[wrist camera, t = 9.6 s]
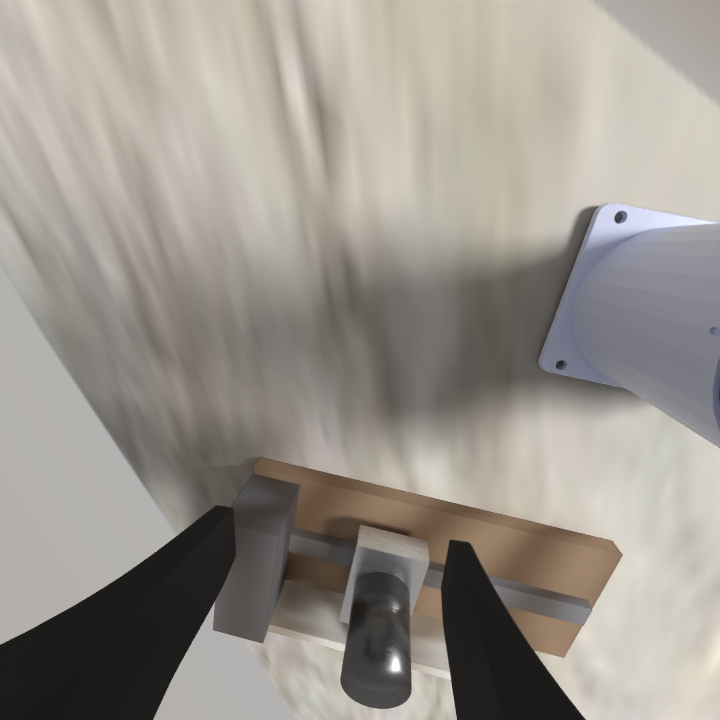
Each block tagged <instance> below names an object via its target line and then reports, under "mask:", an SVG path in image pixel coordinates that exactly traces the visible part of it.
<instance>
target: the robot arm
mask: <svg viewBox="0 0 720 720" xmlns="http://www.w3.org/2000/svg"><path fill="white" fill-rule="evenodd" d="M617 212H620V213H621V214H622V219H621V221H620V222H619V223H616V222H615V220H614V216H615V215H616V213H617ZM560 360H563V361H564V362H563V365H562V366H561V367H559V368H556V363H557V362H558V361H560ZM538 363H539V366H540V367H541V368H542V369H543V370H544V371H546V372H550V373H555V374H560V375H564V376H569V377H574V378H578V379H583V380H588V381H592V382H597V383H602V384H606V385H611V386H616V387H620V388H625V389H628V390H629V391H631V392H633V393H634V394H636V395H637V396H639V397H640V398H642V399H644V400H645V401H647V402H648V403H650V404H651V405H653V406H655V407H656V408H658V409H659V410H661V411H662V412H664V413H666V414H667V415H669V416H670V417H672V418H673V419H675V420H677V421H678V422H680V423H681V424H683V425H684V426H686V427H687V428H689V429H691V430H692V431H694V432H695V433H697V434H698V435H700V436H702V437H703V438H705V439H706V440H708V441H709V442H711V443H713V444H714V445H716V446H717V447H719V448H720V223H719V222H714V221H708V220H703V219H698V218H692V217H687V216H681V215H676V214H671V213H665V212H660V211H654V210H649V209H644V208H638V207H633V206H628V205H622V204H617V203H606V204H603V205H601V206H599V207H598V208H597V209H596V210H595V212H594V214H593V216H592V219H591V222H590V224H589V227H588V229H587V232H586V235H585V237H584V240H583V243H582V245H581V248H580V251H579V253H578V256H577V259H576V261H575V264H574V267H573V269H572V272H571V275H570V277H569V280H568V283H567V285H566V288H565V291H564V293H563V296H562V299H561V301H560V304H559V307H558V309H557V312H556V315H555V317H554V320H553V322H552V325H551V328H550V330H549V333H548V336H547V338H546V341H545V344H544V346H543V349H542V352H541V354H540V357H539V361H538ZM235 557H236V542H235V525H234V508H231V507H224V506H217V505H216V506H215V507H214V508H212V509H211V510H210V511H208V512H207V513H206V514H204V515H203V516H202V517H201V518H199V519H198V520H197V521H196V522H194V523H193V524H192V525H190V526H189V527H188V528H187V529H185V530H184V531H183V532H182V533H180V534H179V535H178V536H176V537H175V538H174V539H173V540H171V541H170V542H168V543H167V544H166V545H165V546H163V547H162V548H160V549H159V550H158V551H157V552H155V553H154V554H152V555H151V556H150V557H148V558H147V559H145V560H144V561H143V562H141V563H140V564H139V565H137V566H136V567H134V568H133V569H132V570H130V571H128V572H127V573H126V574H124V575H123V576H121V577H120V578H118V579H117V580H115V581H114V582H112V583H110V584H109V585H107V586H106V587H104V588H103V589H101V590H99V591H98V592H96V593H95V594H93V595H91V596H90V597H88V598H86V599H85V600H83V601H81V602H80V603H78V604H76V605H75V606H73V607H71V608H69V609H67V610H66V611H64V612H62V613H60V614H58V615H56V616H55V617H53V618H51V619H49V620H47V621H45V622H44V623H42V624H40V625H38V626H37V627H35V628H33V629H31V630H29V631H27V632H25V633H23V634H21V635H19V636H17V637H15V638H13V639H11V640H9V641H7V642H5V643H3V644H1V645H0V720H153V718H154V716H155V714H156V712H157V710H158V707H159V705H160V703H161V701H162V699H163V697H164V695H165V692H166V690H167V688H168V686H169V684H170V682H171V680H172V678H173V676H174V674H175V672H176V670H177V668H178V666H179V664H180V663H181V661H182V659H183V657H184V656H185V654H186V652H187V650H188V648H189V646H190V645H191V643H192V641H193V639H194V638H195V636H196V634H197V632H198V630H199V629H200V627H201V625H202V623H203V622H204V620H205V618H206V616H207V615H208V613H209V611H210V609H211V607H212V606H213V604H214V602H215V600H216V598H217V597H218V595H219V593H220V591H221V589H222V587H223V585H224V583H225V581H226V578H227V576H228V574H229V571H230V569H231V566H232V564H233V562H234V559H235ZM441 601H442V619H443V629H444V636H445V643H446V649H447V656H448V663H449V669H450V676H451V682H452V689H453V695H454V702H455V708H456V715H457V720H586V719H585V718H584V717H583V716H582V715H581V713H580V712H579V711H578V710H577V708H576V707H575V706H574V704H573V703H572V702H571V701H570V699H569V698H568V697H567V695H566V694H565V693H564V692H563V690H562V689H561V688H560V686H559V685H558V684H557V682H556V681H555V680H554V678H553V677H552V675H551V674H550V673H549V671H548V670H547V669H546V667H545V666H544V664H543V663H542V662H541V660H540V659H539V657H538V656H537V655H536V653H535V652H534V650H533V649H532V647H531V646H530V644H529V643H528V641H527V640H526V638H525V637H524V635H523V634H522V632H521V631H520V629H519V628H518V626H517V624H516V623H515V621H514V620H513V618H512V616H511V615H510V613H509V612H508V610H507V608H506V607H505V605H504V603H503V602H502V600H501V598H500V597H499V595H498V593H497V591H496V590H495V588H494V586H493V584H492V583H491V581H490V579H489V577H488V575H487V574H486V572H485V570H484V568H483V566H482V564H481V562H480V560H479V558H478V556H477V554H476V552H475V550H474V548H473V546H472V545H471V544H470V542H465V541H458V540H451V539H450V541H449V546H448V551H447V557H446V562H445V567H444V573H443V578H442V584H441Z"/></svg>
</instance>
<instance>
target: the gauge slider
mask: <svg viewBox="0 0 720 720" xmlns="http://www.w3.org/2000/svg"><path fill="white" fill-rule="evenodd" d="M428 566H429V552H428V541H425V540H421V539H417V538H413V537H409V536H405V535H401V534H397V533H392V532H388V531H384V530H380V529H376V528H372V527H368V526H364V525H360V527H359V532H358V536H357V540H356V544H355V548H354V553H353V557H352V561H351V565H350V569H349V574H348V578H347V582H346V586H345V590H344V595H343V599H342V605H341V611H340V616H339V621H341V622H345V623H348V624H349V625H348V632H347V638H346V645H345V652H344V659H343V665H342V672H341V685H342V688H343V690H344V691H345V693H346V694H347V695H348V696H349V697H350V698H352V699H353V700H354V701H356V702H358V703H360V704H362V705H365V706H368V707H372V708H378V709H388V708H393V707H397V706H399V705H401V704H403V703H404V702H406V701H407V700H408V698H409V697H410V695H411V629H410V619H411V616H412V613H413V610H414V607H415V605H416V602H417V599H418V596H419V593H420V590H421V587H422V584H423V581H424V578H425V575H426V572H427V569H428Z"/></svg>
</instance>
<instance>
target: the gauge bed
mask: <svg viewBox="0 0 720 720" xmlns="http://www.w3.org/2000/svg"><path fill="white" fill-rule="evenodd" d="M231 508H234V525H235V542H236V557H235V559H234V562H233V564H232V566H231V569H230V571H229V574H228V576H227V578H226V581H225V583H224V585H223V587H222V589H221V591H220V593H219V595H218V597H217V598H216V600H215V609H214V623H213V630H215V631H218V632H222V633H226V634H230V635H233V636H237V637H241V638H245V639H248V640H252V641H256V642H259V643H263V642H264V639H265V636H266V633H267V631H268V628H269V632H273V633H277V634H281V635H285V636H288V637H292V638H296V639H300V640H303V641H307V642H311V643H315V644H318V645H322V646H326V647H330V648H333V649H337V650H341V651H345V645H346V638H347V632H348V625H349V624H348V623H345V622H341V621H339V616H340V611H341V605H342V599H343V595H344V590H345V586H346V582H347V578H348V574H349V569H350V565H351V561H352V557H353V553H354V548H355V544H356V540H357V536H358V532H359V527H360V525H364V526H368V527H372V528H376V529H380V530H384V531H388V532H392V533H397V534H401V535H405V536H409V537H413V538H417V539H421V540H425V541H428V552H429V566H428V569H427V572H426V575H425V578H424V581H423V584H422V587H421V590H420V593H419V596H418V599H417V602H416V605H415V607H414V610H413V613H412V616H411V619H410V629H411V669H412V670H416V671H420V672H423V673H427V674H431V675H435V676H438V677H442V678H446V679H450V680H451V676H450V669H449V663H448V656H447V649H446V643H445V636H444V629H443V619H442V601H441V584H442V578H443V573H444V567H445V562H446V557H447V551H448V546H449V541H450V539H451V540H458V541H465V542H470V544H471V545H472V546H473V548H474V550H475V552H476V554H477V556H478V558H479V560H480V562H481V564H482V566H483V568H484V570H485V572H486V574H487V575H488V577H489V579H490V581H491V583H492V584H493V586H494V588H495V590H496V591H497V593H498V595H499V597H500V598H501V600H502V602H503V603H504V605H505V607H506V608H507V610H508V612H509V613H510V615H511V616H512V618H513V620H514V621H515V623H516V624H517V626H518V628H519V629H520V631H521V632H522V634H523V635H524V637H525V638H526V640H527V641H528V643H529V644H530V646H531V647H532V649H533V650H535V651H539V652H543V653H547V654H551V655H555V656H559V657H562V658H564V657H565V655H566V654H567V652H568V650H569V648H570V647H571V645H572V643H573V641H574V640H575V638H576V636H577V634H578V633H579V631H580V629H581V627H582V626H584V624H585V622H586V620H587V619H588V617H589V615H590V613H591V612H592V610H593V609H592V608H593V606H594V605H595V603H596V601H597V599H598V598H599V596H600V594H601V592H602V591H603V589H604V587H605V585H606V584H607V582H608V580H609V578H610V577H611V575H612V573H613V571H614V570H615V568H616V566H617V564H618V563H619V561H620V559H621V557H622V556H623V555H622V553H621V552H620V550H619V549H618V548H617V546H616V545H615V543H614V542H613V541H610V540H606V539H601V538H597V537H593V536H589V535H585V534H580V533H576V532H572V531H568V530H564V529H559V528H555V527H551V526H547V525H543V524H538V523H534V522H530V521H526V520H522V519H517V518H513V517H509V516H505V515H501V514H496V513H492V512H488V511H484V510H480V509H475V508H471V507H467V506H463V505H459V504H454V503H450V502H446V501H442V500H438V499H433V498H429V497H425V496H421V495H417V494H412V493H408V492H404V491H400V490H396V489H391V488H387V487H383V486H379V485H375V484H370V483H366V482H362V481H358V480H354V479H349V478H345V477H341V476H337V475H333V474H328V473H324V472H320V471H316V470H312V469H307V468H303V467H299V466H295V465H291V464H286V463H282V462H278V461H274V460H270V459H265V458H261V457H260V459H259V460H258V461H257V463H256V464H255V466H254V471H253V475H252V476H251V478H250V479H249V481H248V482H247V483H246V485H245V486H244V488H243V489H242V491H241V492H240V494H239V495H238V497H237V498H236V500H235V501H234V503H233V504H232V506H231Z"/></svg>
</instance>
